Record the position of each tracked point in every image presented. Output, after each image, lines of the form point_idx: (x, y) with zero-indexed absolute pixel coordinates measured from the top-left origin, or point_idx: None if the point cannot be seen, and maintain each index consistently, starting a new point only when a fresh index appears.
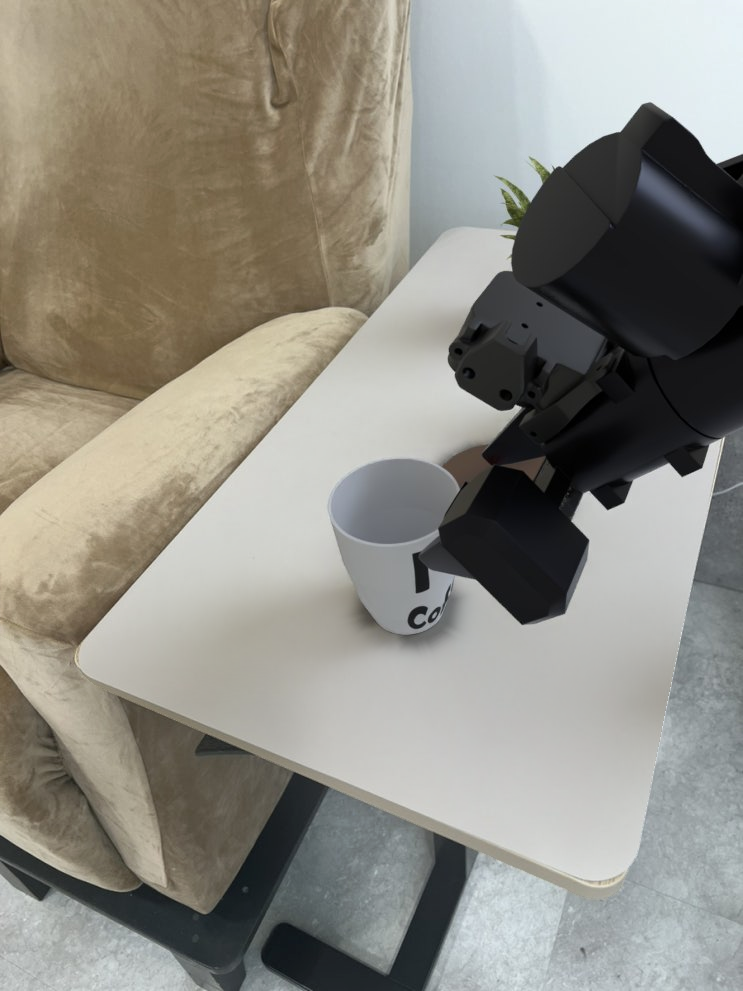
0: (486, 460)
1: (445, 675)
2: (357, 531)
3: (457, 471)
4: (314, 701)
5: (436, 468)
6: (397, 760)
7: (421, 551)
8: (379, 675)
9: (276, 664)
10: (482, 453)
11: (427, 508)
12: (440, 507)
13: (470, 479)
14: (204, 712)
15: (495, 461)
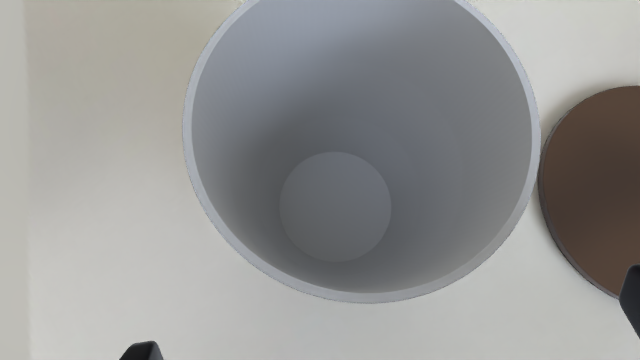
0: (625, 283)
1: (249, 333)
2: (346, 70)
3: (634, 114)
4: (115, 187)
5: (528, 149)
6: (84, 353)
7: (143, 348)
8: (199, 243)
9: (143, 101)
10: (638, 268)
11: (465, 160)
12: (473, 190)
13: (631, 144)
14: (30, 67)
15: (637, 314)
